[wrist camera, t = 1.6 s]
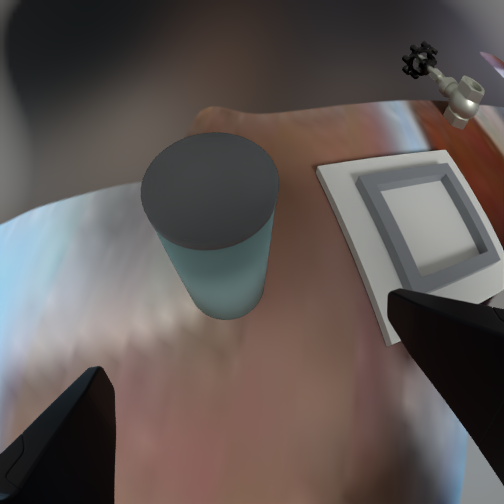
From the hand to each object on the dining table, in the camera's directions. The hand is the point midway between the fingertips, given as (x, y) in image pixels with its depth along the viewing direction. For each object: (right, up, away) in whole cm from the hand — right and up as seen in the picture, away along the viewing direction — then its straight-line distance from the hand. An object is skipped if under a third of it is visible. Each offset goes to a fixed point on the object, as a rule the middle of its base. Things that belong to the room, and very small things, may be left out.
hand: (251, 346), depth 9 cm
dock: (+15, +5, +17) cm, 23 cm away
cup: (-2, 0, +15) cm, 15 cm away
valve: (+25, +23, +26) cm, 43 cm away
